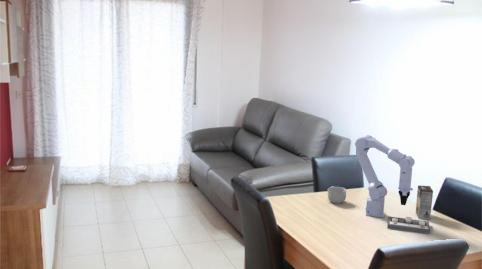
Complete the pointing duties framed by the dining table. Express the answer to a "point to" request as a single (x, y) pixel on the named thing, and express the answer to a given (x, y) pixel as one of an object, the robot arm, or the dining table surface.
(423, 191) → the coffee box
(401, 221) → the button board
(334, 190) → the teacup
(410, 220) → the middle button
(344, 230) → the dining table surface
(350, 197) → the dining table surface
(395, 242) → the dining table surface
